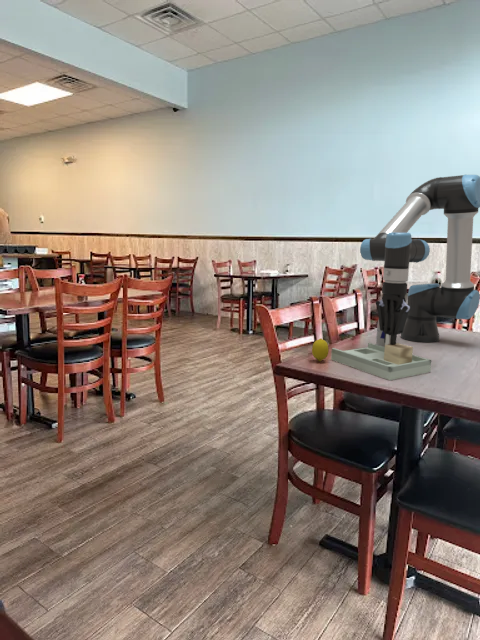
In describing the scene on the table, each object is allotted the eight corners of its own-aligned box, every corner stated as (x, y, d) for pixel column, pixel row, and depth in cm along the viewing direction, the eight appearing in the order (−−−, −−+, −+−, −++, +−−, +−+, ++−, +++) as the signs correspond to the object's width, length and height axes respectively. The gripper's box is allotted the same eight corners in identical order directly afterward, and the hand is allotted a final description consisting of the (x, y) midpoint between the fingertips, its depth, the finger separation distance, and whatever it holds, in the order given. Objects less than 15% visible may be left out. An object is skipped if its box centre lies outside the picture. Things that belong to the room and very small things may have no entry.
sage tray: (369, 353, 163) (370, 342, 162) (430, 372, 141) (431, 359, 140) (331, 359, 154) (331, 348, 154) (389, 380, 132) (390, 367, 131)
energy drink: (391, 353, 163) (393, 321, 161) (376, 352, 164) (378, 320, 162) (389, 350, 168) (392, 318, 166) (375, 349, 169) (377, 318, 167)
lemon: (322, 358, 155) (323, 336, 154) (331, 362, 150) (332, 339, 149) (308, 360, 153) (309, 337, 152) (316, 364, 148) (317, 340, 147)
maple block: (396, 357, 148) (398, 343, 147) (411, 362, 143) (412, 347, 142) (383, 360, 145) (384, 345, 144) (398, 364, 140) (399, 349, 139)
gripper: (371, 280, 146) (366, 350, 150) (402, 284, 135) (396, 359, 139) (387, 279, 150) (382, 348, 154) (419, 283, 139) (413, 357, 143)
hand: (389, 353), depth 147 cm, fingers closed
